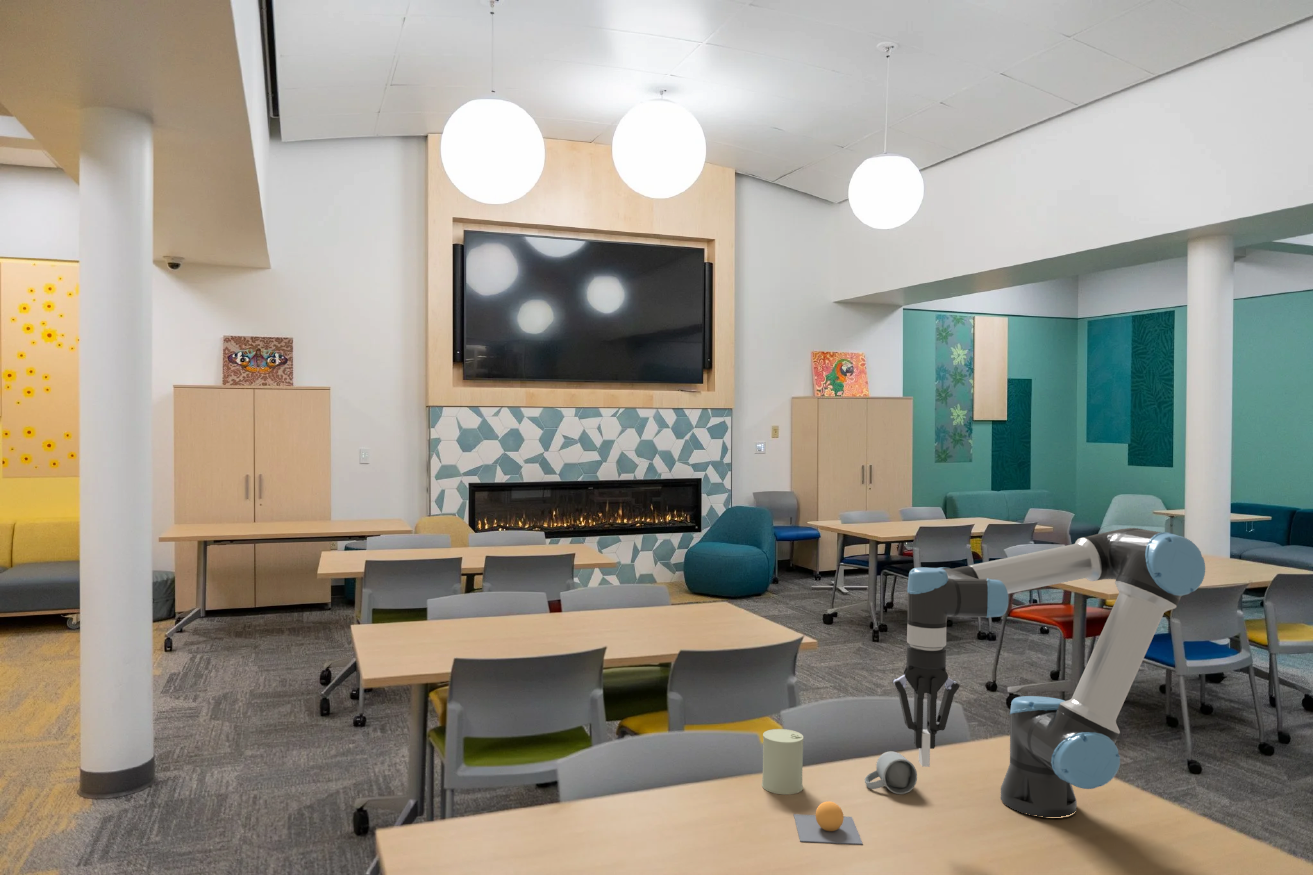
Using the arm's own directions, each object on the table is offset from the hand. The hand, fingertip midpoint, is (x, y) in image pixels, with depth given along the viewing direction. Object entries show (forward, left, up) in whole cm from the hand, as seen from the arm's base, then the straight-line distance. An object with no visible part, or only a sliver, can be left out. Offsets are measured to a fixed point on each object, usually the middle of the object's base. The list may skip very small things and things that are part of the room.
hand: (924, 763), depth 171 cm
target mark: (+19, 0, -14) cm, 24 cm away
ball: (+19, 0, -11) cm, 22 cm away
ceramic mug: (+2, -23, -14) cm, 27 cm away
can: (+26, -21, -14) cm, 36 cm away
